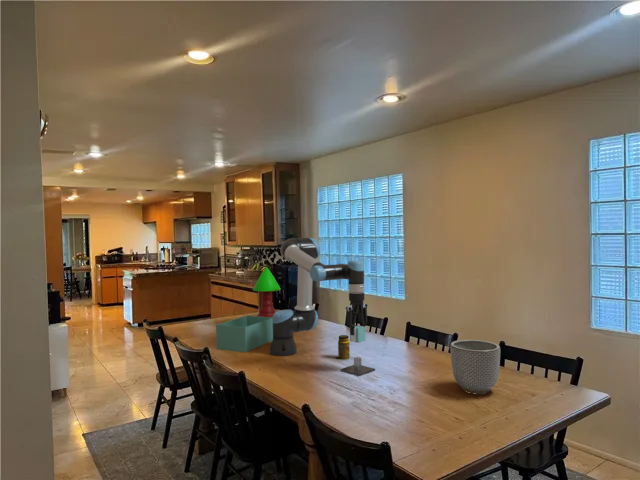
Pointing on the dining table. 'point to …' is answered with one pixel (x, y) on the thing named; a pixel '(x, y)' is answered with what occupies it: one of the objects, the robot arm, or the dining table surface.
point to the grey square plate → (357, 368)
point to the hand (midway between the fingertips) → (357, 340)
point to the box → (244, 333)
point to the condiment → (343, 348)
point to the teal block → (359, 334)
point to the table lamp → (266, 292)
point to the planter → (475, 364)
